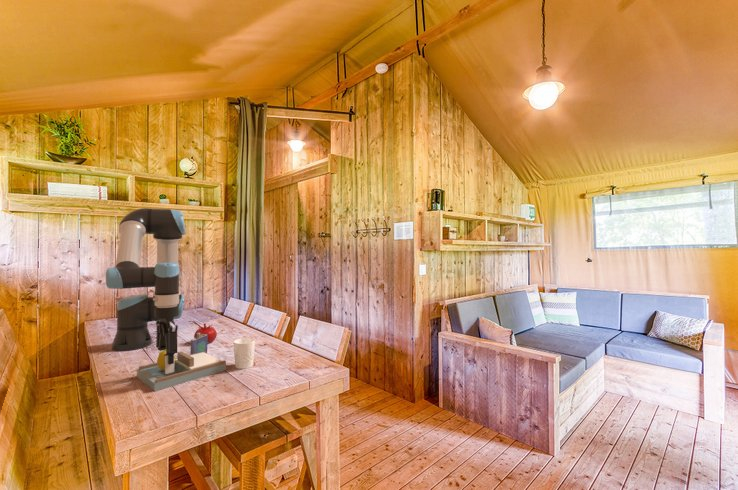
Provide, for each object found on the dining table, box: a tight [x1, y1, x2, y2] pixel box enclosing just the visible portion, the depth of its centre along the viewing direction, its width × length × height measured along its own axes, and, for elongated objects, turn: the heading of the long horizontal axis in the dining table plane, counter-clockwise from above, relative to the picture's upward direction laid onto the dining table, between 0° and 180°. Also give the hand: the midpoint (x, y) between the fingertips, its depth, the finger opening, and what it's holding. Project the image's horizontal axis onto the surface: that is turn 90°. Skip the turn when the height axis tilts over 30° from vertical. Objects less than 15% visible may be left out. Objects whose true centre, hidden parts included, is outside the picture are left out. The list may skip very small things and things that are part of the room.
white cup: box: [233, 337, 256, 370], centre depth 132 cm, size 8×8×10 cm
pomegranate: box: [193, 323, 218, 344], centre depth 162 cm, size 10×10×9 cm
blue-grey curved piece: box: [190, 333, 208, 354], centre depth 140 cm, size 9×3×11 cm, turn 170°
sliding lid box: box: [136, 351, 227, 392], centre depth 123 cm, size 18×24×4 cm
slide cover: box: [175, 351, 222, 370], centre depth 128 cm, size 15×11×4 cm
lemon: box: [156, 349, 176, 371], centre depth 119 cm, size 6×6×8 cm
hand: (166, 370), depth 119 cm, fingers closed on lemon, 6 cm apart
